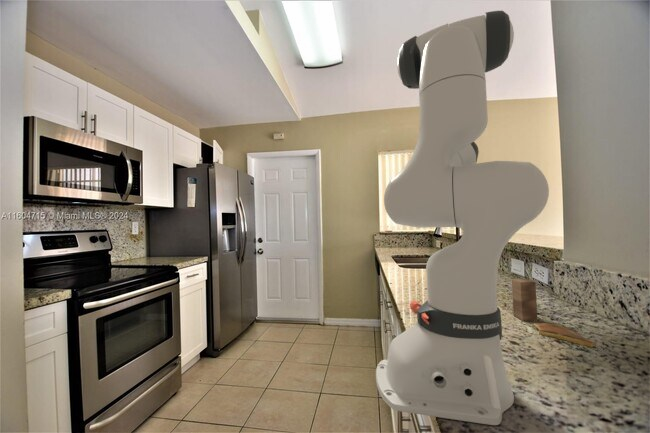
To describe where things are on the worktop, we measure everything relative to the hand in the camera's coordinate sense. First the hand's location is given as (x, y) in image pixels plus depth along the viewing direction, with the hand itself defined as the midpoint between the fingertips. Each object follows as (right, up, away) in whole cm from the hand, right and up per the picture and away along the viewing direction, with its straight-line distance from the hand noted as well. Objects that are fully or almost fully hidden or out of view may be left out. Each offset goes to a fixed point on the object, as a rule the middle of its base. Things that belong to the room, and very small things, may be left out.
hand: (507, 209), depth 79 cm
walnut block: (+4, -32, -2) cm, 32 cm away
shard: (+5, -32, -14) cm, 35 cm away
